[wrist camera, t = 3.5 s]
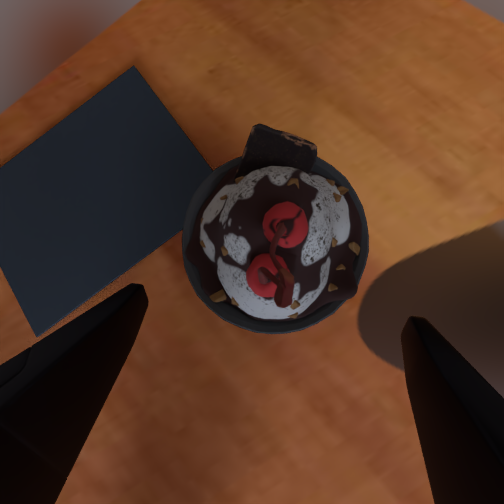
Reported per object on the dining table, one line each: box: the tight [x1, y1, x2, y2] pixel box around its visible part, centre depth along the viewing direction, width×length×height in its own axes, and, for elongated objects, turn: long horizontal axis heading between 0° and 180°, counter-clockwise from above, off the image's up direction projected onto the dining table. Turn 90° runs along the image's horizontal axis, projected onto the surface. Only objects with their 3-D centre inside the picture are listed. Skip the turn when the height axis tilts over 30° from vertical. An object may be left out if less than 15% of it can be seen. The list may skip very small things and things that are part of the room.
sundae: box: [182, 124, 369, 334], centre depth 13 cm, size 7×7×15 cm
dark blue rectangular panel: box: [0, 66, 213, 337], centre depth 23 cm, size 14×18×1 cm
